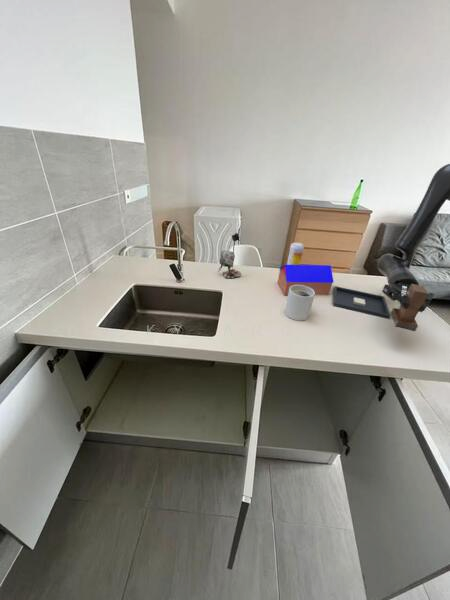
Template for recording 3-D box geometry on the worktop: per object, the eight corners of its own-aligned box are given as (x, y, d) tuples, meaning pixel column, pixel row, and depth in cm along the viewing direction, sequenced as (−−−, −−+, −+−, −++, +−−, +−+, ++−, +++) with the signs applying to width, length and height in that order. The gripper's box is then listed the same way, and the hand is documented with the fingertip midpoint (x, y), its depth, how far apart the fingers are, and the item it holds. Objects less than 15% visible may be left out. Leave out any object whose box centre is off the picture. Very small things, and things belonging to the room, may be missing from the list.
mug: (294, 322, 86) (300, 298, 81) (278, 309, 93) (283, 286, 88) (317, 316, 90) (324, 293, 85) (300, 303, 97) (306, 281, 92)
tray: (382, 300, 103) (384, 296, 102) (388, 320, 90) (390, 315, 89) (333, 290, 109) (334, 286, 108) (332, 307, 96) (334, 302, 95)
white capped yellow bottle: (300, 274, 121) (307, 245, 114) (291, 276, 118) (298, 247, 111) (291, 269, 126) (297, 241, 118) (282, 272, 123) (288, 243, 115)
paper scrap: (363, 301, 100) (364, 299, 100) (364, 306, 97) (365, 304, 96) (353, 299, 101) (354, 297, 101) (353, 303, 98) (354, 301, 98)
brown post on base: (408, 316, 76) (425, 284, 70) (415, 331, 70) (434, 296, 64) (390, 312, 78) (406, 280, 72) (395, 326, 71) (412, 292, 65)
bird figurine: (218, 271, 120) (219, 230, 109) (240, 272, 120) (244, 231, 110) (217, 278, 113) (218, 235, 103) (241, 279, 113) (245, 237, 103)
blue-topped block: (276, 282, 112) (280, 259, 106) (318, 283, 114) (324, 259, 108) (283, 296, 102) (289, 270, 96) (329, 296, 104) (337, 271, 98)
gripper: (382, 268, 82) (391, 290, 68) (432, 276, 77) (452, 302, 64) (374, 287, 86) (381, 312, 72) (421, 296, 81) (437, 325, 67)
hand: (414, 307), depth 68 cm, fingers closed on brown post on base, 3 cm apart
